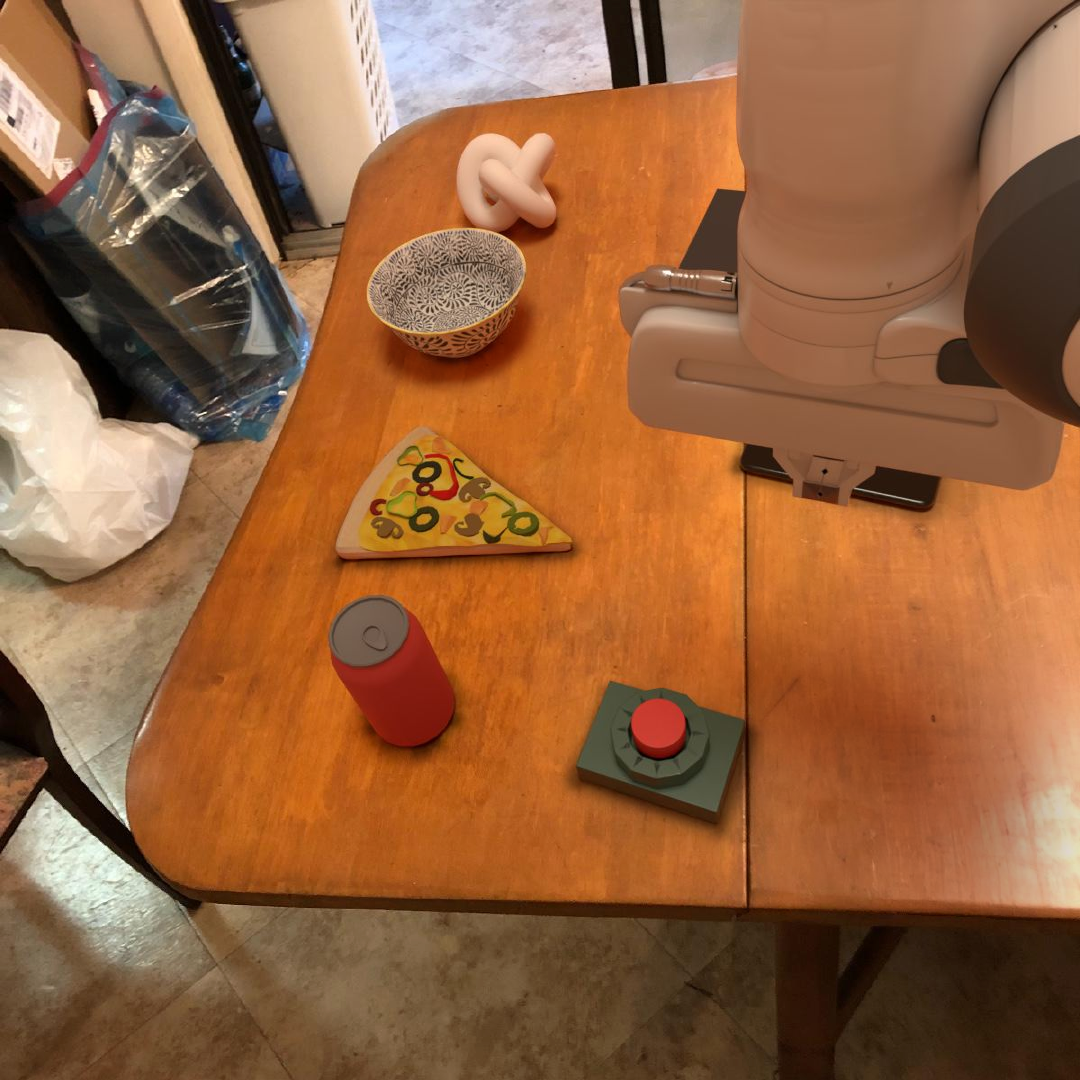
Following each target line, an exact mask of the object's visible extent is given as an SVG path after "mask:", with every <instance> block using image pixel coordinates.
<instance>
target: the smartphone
mask: <svg viewBox="0 0 1080 1080" xmlns="http://www.w3.org/2000/svg"><path fill="white" fill-rule="evenodd" d="M813 456H814V457H819V458H824V459H828V460H836V461H843V462H844V461H845V460H840V459H834V458H828V457H822V456H817V455H813ZM739 465H740V467H741V468H742V469H743V470H744V471H746V472H749V473H753V474H756V475H762V476H766V477H771V478H775V479H781V480H784V481H788V482H789V481H790V482H793V479H792V478H790V476H789V475H788V474H787V473H786V471H785V470H784V469H783V468H782V467H781V465H780V464H779V463H778V462H777V461H776V459H775V458H774V457H773V448H770V447H764V446H758V445H752V444H746V443H745V445H744V448H743V449H742V452H741V455H740V458H739ZM941 480H942V477H940V476H934V475H928V474H922V473H916V472H910V471H904V470H899V469H893V468H887V467H881V466H876V469H875V473H874V474H873V475H872V476H870V477H869V478H867V479H866V480H865V481H863V482H862V483H860V484H859V485H857V486H856V487H855V488H853V489H852V492H851V495H855V496H859V497H864V498H868V499H874V500H877V501H882V502H888V503H892V504H896V505H901V506H906V507H909V508H910V507H911V508H914V509H915V508H916V509H927V508H930V507H931V506H933V504H934V503H935V501H936V498H937V494H938V491H939V487H940V483H941Z"/></svg>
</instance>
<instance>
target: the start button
mask: <svg viewBox="0 0 1080 1080" xmlns="http://www.w3.org/2000/svg"><path fill="white" fill-rule="evenodd" d="M631 728H632V733H633V739H634V742H635V744H636V746H637V748H638V749H639V750H640V751H641V752H642V753H644V754H645V755H647V756H649V757H652V758H667V757H670V756H672V755H674V754H676V753H677V752H678V751H679V750H680V749H681V748H682V746H683V745H684V743H685V740H686V723H685V717H684V714H683V712H682V711H681V709H680V708H679V707H678V706H677V705H676V704H674V703H673V702H671V701H668V700H665V699H651V700H648V701H646V702H644V703H642V704H641V705H640V706H639V707H638V708H637V709H636V710H635V712H634V713H633V716H632V719H631Z"/></svg>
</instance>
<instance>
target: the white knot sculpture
mask: <svg viewBox="0 0 1080 1080" xmlns="http://www.w3.org/2000/svg"><path fill="white" fill-rule="evenodd" d="M555 156H556V142H555V141H554V139H553V138H552V136H551V135H549V134H547V133H546V132H539V133H535V134H534V135H532V136H531V137H530V138H528V139H527V141H525V143H524V144H523V146H522V147H521V148H520V147H519V145H518V144H517V143H515V142H514V141H513V140H512V139H510V138H508V137H506V136H504V135H502V134H499V133H498V134H497V133H492V132H491V133H483V134H480V135H478V136H476V137H475V138H473V139H472V140H471V141H470V142H469V143H468V144H467V145H466V146H465V148H464V150H463V151H462V152H461V155H460V159H459V161H458V164H457V170H456V191H457V196H458V200H459V201H458V202H459V203H460V207H461V209H462V211H463V213H464V215H465V217H466V218H467V219H468V221H469V222H470V223H471V224H472V225H473V226H474V228H477V229H484V230H488V231H492V232H495V233H500V232H505V231H506V230H509V228H511V227H513V225H514V224H515V223H516V222H517V220H518V219H519V218H521V219H522V220H524V221H526V223H529V224H531V225H532V226H534V227H535V228H537V229H538V228H539V229H546V228H549V227H550V226H551V225H552V224H554V223H555V220H556V218H557V206H556V204H555V202H554V199H553V197H552V196H551V194H550V192H549V190H548V189H547V188H546V186H545V184H544V182H543V181H542V180H543V179H544V178H545V176H546V174H547V173H548V171H549V169H550V167H551V165H552V164H553V161H554V159H555ZM484 192H485V193H486V195H487V196H488V198H490V199H491V200H492V201H493V202H494V203H495V204H493V205H492V204H490V203H489V202H488V200H487V198H486V196H485V193H484Z"/></svg>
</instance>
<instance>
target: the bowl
mask: <svg viewBox="0 0 1080 1080" xmlns="http://www.w3.org/2000/svg"><path fill="white" fill-rule="evenodd" d="M523 253H524V252H522V250H521V248H519V246H518V245H517V244H516V243H515V242H514V241H512V240H511V239H509V238H508V237H506V236H505V235H503V234H500V233H499V232H497V233H495V232H492V231H488V230H484V229H478V228H477V227H454V228H447V229H440V230H436V231H432V232H428V233H426V234H422V235H420V236H417V237H415V238H413V239H410V240H408V241H407V242H404V243H403V244H401V245H400V246H398V247H396V248H395V249H394V250H392V251H391V252H389V253H388V254H387V255H386V256H385V257H384V258H383V259H382V260H380V262H379V263H378V264H377V266H376V267H375V268H374V270H373V271H372V273H371V275H370V276H369V279H368V282H367V286H366V300H367V305H368V307H369V309H370V311H371V313H372V314H373V315H374V316H375V317H376V318H377V319H378V320H379V321H380V322H381V323H383V324H384V325H386V326H387V327H388V328H389V329H390V330H391V331H392V332H393V334H395V335H396V336H397V338H399V339H400V340H401V341H402V342H403V343H405V344H406V345H408V346H409V347H410V348H412V349H415V350H416V351H419V352H421V353H424V354H427V355H431V356H437V357H444V358H453V359H457V358H463V357H464V358H465V357H468V356H471V355H474V354H476V353H478V352H480V351H481V350H483V349H484V348H485V347H486V346H488V345H489V344H490V343H492V342H493V341H494V340H496V339H497V338H498V337H500V335H501V334H502V333H503V332H504V331H505V329H506V328H507V327H508V325H509V324H510V323H511V321H512V319H513V317H514V315H515V312H516V310H517V307H518V303H519V300H520V295H521V291H522V289H523V286H524V284H525V281H526V278H527V262H526V258H525V255H524V254H523Z"/></svg>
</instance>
